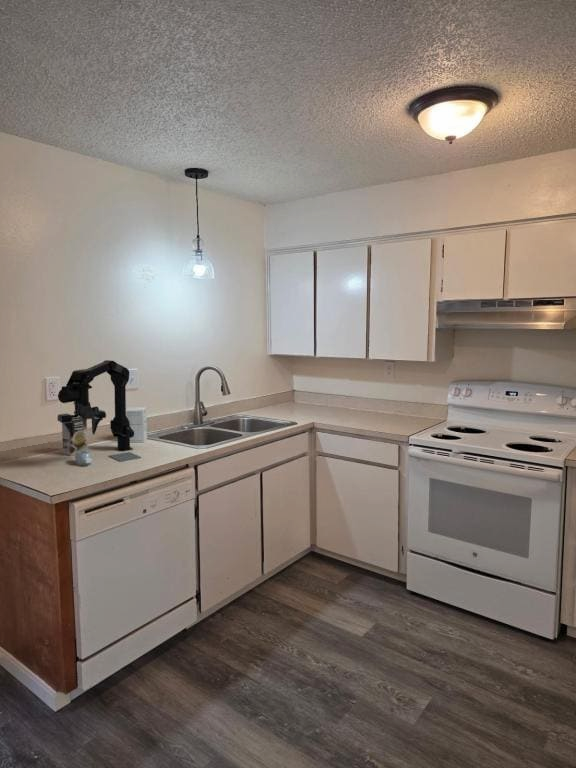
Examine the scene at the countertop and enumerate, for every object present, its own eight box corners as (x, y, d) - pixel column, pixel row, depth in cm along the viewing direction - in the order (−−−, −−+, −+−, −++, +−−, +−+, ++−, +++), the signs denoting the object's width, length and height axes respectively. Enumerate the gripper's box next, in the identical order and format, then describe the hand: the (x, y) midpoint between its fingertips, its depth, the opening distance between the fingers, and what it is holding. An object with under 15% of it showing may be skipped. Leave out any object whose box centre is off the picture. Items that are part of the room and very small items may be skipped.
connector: (74, 462, 219) (73, 450, 219) (84, 460, 222) (83, 449, 222) (84, 467, 211) (83, 456, 210) (94, 465, 214) (94, 454, 213)
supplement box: (147, 438, 266) (147, 406, 264) (144, 442, 257) (144, 409, 255) (129, 438, 265) (128, 407, 263) (125, 442, 256) (124, 410, 254)
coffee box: (71, 456, 229) (69, 421, 227) (62, 454, 233) (61, 419, 231) (88, 451, 237) (87, 418, 235) (79, 449, 240) (78, 416, 238)
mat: (108, 456, 229) (108, 455, 229) (129, 452, 236) (129, 451, 236) (120, 461, 220) (120, 460, 220) (141, 457, 227) (141, 457, 227)
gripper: (66, 404, 202) (67, 442, 204) (111, 400, 215) (112, 436, 217) (56, 401, 210) (57, 437, 212) (100, 397, 223) (101, 431, 225)
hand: (82, 435), depth 216 cm, fingers open, 9 cm apart
